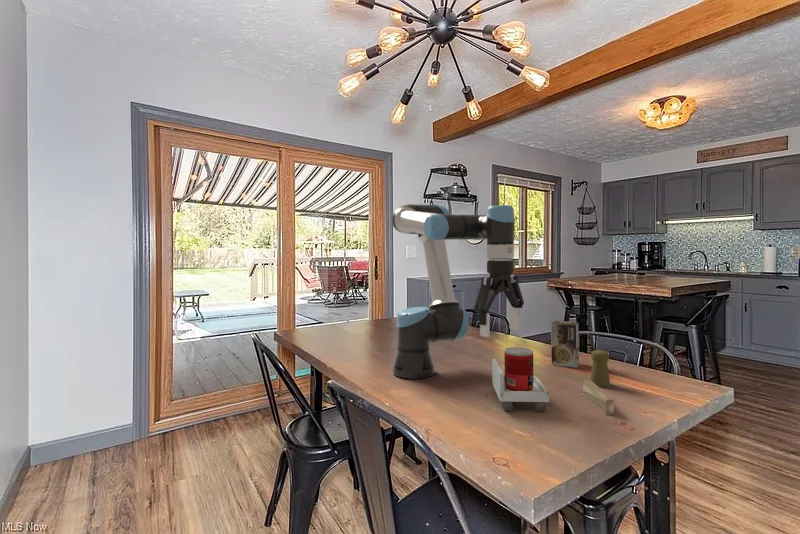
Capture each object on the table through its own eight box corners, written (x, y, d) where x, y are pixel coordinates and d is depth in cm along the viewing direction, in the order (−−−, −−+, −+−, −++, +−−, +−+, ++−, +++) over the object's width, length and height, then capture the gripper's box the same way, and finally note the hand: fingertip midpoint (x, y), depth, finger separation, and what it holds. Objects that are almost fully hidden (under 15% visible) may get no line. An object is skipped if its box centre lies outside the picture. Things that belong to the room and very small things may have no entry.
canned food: (535, 393, 110) (535, 354, 110) (505, 391, 112) (505, 353, 111) (531, 384, 118) (531, 347, 117) (503, 382, 119) (503, 346, 119)
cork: (609, 382, 130) (610, 349, 129) (611, 388, 124) (611, 354, 124) (589, 380, 132) (589, 347, 132) (589, 386, 127) (589, 352, 126)
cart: (500, 411, 108) (499, 373, 108) (492, 391, 123) (492, 358, 123) (549, 412, 107) (549, 374, 106) (535, 392, 122) (535, 359, 121)
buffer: (605, 414, 105) (605, 399, 105) (583, 392, 121) (583, 379, 121) (613, 414, 105) (613, 399, 105) (590, 392, 121) (590, 380, 121)
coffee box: (579, 364, 151) (579, 322, 150) (576, 368, 145) (576, 325, 145) (554, 360, 156) (554, 320, 155) (550, 365, 150) (550, 322, 150)
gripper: (482, 261, 103) (482, 342, 104) (536, 258, 119) (535, 328, 120) (460, 261, 109) (460, 337, 110) (515, 257, 125) (514, 324, 126)
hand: (499, 332), depth 115 cm, fingers open, 13 cm apart
